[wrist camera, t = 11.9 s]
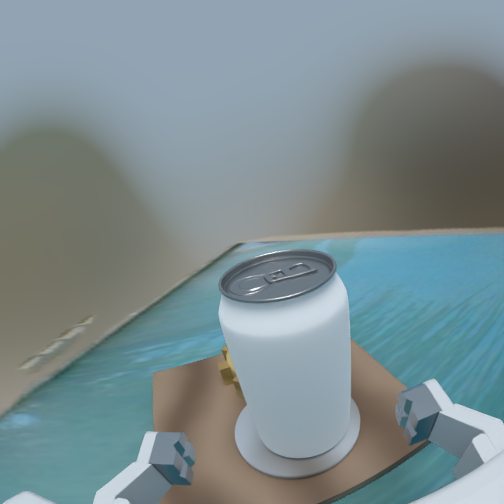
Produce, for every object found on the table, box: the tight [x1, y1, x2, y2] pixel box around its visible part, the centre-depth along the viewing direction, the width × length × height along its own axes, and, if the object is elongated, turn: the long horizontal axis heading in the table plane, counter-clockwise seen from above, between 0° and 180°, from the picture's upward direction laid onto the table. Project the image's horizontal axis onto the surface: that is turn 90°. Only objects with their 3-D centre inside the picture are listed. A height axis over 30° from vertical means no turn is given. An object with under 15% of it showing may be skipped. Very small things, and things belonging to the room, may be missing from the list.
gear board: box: [153, 338, 431, 504], centre depth 20 cm, size 20×19×6 cm
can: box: [218, 249, 351, 458], centre depth 15 cm, size 6×6×12 cm
